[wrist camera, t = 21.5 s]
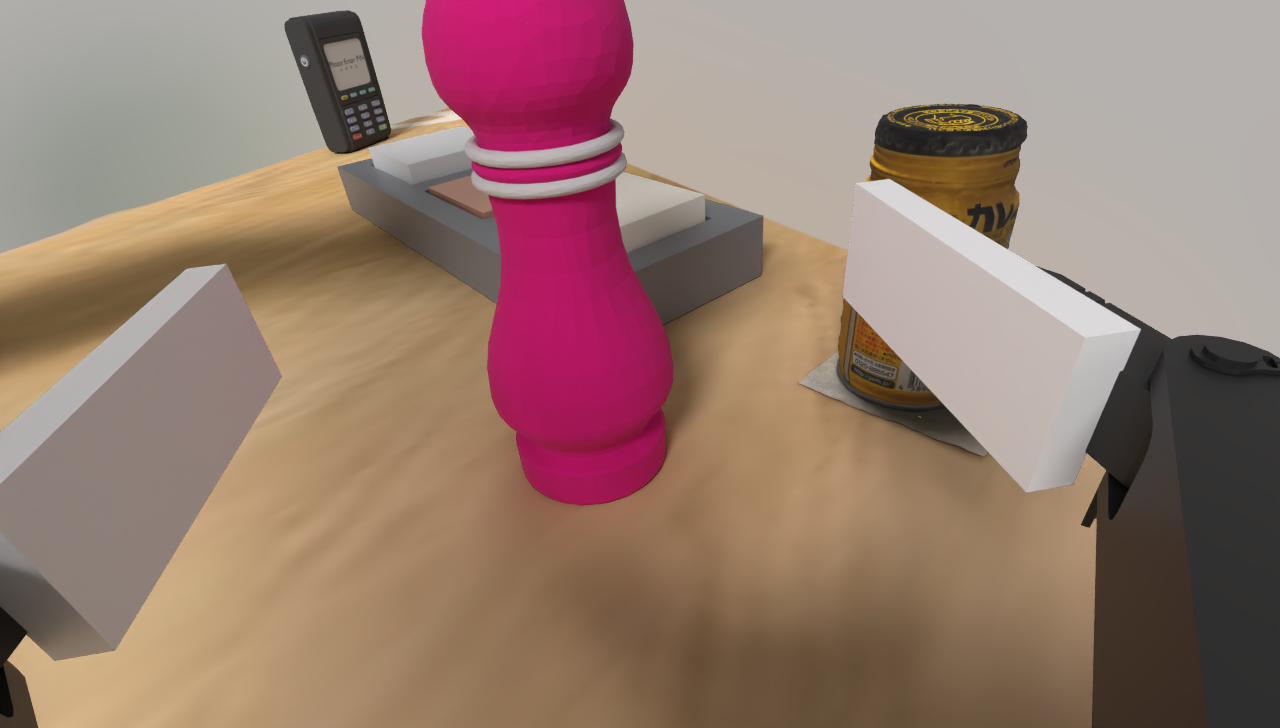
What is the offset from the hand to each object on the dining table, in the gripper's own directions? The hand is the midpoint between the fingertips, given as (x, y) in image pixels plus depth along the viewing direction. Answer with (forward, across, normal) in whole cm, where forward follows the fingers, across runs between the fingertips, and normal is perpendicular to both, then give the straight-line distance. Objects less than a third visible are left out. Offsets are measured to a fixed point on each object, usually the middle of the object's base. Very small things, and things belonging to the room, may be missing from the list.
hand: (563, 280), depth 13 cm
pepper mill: (+8, 0, -12) cm, 15 cm away
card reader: (+75, -25, -12) cm, 80 cm away
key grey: (+45, -10, -10) cm, 47 cm away
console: (+35, -4, -12) cm, 37 cm away
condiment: (+10, +16, -12) cm, 22 cm away
